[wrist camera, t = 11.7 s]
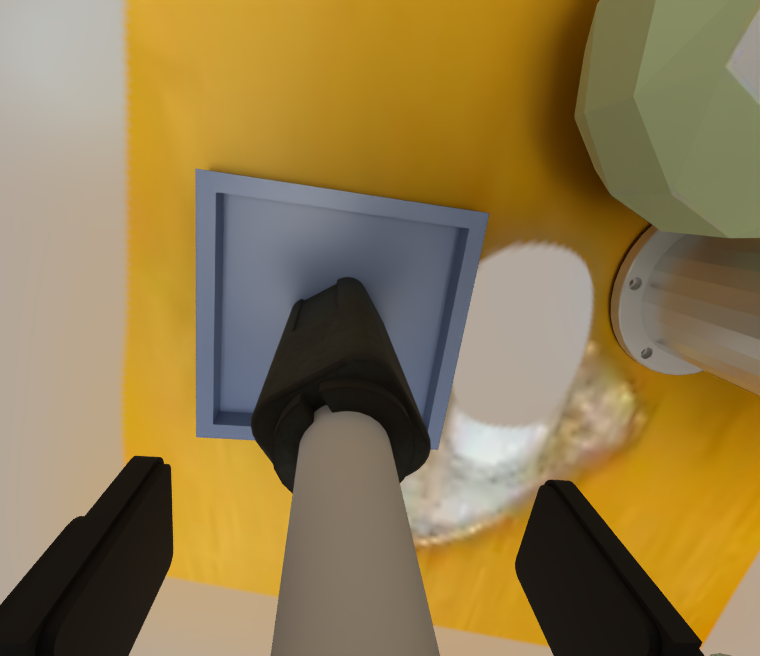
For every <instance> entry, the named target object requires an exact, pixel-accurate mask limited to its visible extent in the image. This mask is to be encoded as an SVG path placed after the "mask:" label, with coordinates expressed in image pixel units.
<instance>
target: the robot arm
mask: <svg viewBox="0 0 760 656" xmlns="http://www.w3.org/2000/svg"><path fill="white" fill-rule="evenodd" d="M611 320H612V326H613V331H614V333H615V336H616V338H617V340H618V342H619V344H620V346H621V347H622V348H623V350H624V351H625V352H626V354H627V355H628V356H630V357H631V358H632V359H634V360H635V361H636V362H637V363H639V364H641V365H643V366H645V367H647V368H649V369H650V370H653V371H656V372H659V373H662V374H668V375H687V374H695V373H698V372H702V371H707V372H709V373H711V374H713V375H715V376H718V377H720V378H722V379H724V380H726V381H728V382H730V383H733V384H735V385H737V386H739V387H741V388H743V389H746V390H748V391H750V392H752V393H754V394H756V395H758V396H760V238H723V237H713V236H703V235H693V234H683V233H674V232H664V231H661V230H659V229H658V228H656V227H655V226H654V225H652V226H651V227H650V228H649V229H648V230H647V231H646V232H645V233H643V234H642V236H641V237H640V238H639V239H638V241H637V242H636V243H635V245H634V246H633V247H632V248H631V250H630V251H629V253H628V255H627V257H626V258H625V260H624V262H623V264H622V265H621V267H620V270H619V273H618V275H617V278H616V281H615V283H614V288H613V293H612V298H611ZM172 557H173V522H172V487H171V466H170V465H169V464H164V461H163V459H162V458H161V457H147V456H134V457H133V458H132V459H131V460H130V461H129V462H128V463H127V465H126V466H125V467H124V468H123V470H122V471H121V472H120V473H119V475H118V476H117V477H116V478H115V479H114V481H113V482H112V483H111V484H110V486H109V487H108V488H107V489H106V491H105V492H104V493H103V494H102V496H101V497H100V498H99V499H98V501H97V502H96V503H95V504H94V505H93V507H92V508H91V509H90V510H89V512H88V513H87V514H86V515H85V516H79V517H77V518H75V519H73V520H72V521H71V522H70V524H68V525H67V526H66V527H65V529H64V530H63V531H62V532H61V533H60V535H59V536H58V537H57V538H56V539H55V540H54V542H53V543H52V544H51V545H50V546H49V548H48V549H47V550H46V551H45V552H44V554H43V555H42V556H41V557H40V558H39V560H38V561H37V562H36V563H35V564H34V565H33V567H32V568H31V569H30V570H29V571H28V573H27V574H26V575H25V576H24V577H23V579H22V580H21V581H20V582H19V583H18V585H17V586H16V587H15V588H14V589H13V591H12V592H11V593H10V594H9V595H8V596H7V598H6V599H5V600H4V601H3V602H2V604H1V605H0V656H128V655H129V653H130V651H131V649H132V647H133V645H134V642H135V640H136V638H137V636H138V634H139V632H140V630H141V627H142V626H143V623H144V621H145V619H146V617H147V615H148V612H149V610H150V608H151V606H152V604H153V602H154V600H155V597H156V595H157V593H158V591H159V589H160V587H161V585H162V583H163V580H164V578H165V576H166V574H167V572H168V570H169V567H170V565H171V561H172ZM515 569H516V574H517V577H518V579H519V581H520V583H521V586H522V588H523V590H524V592H525V594H526V596H527V599H528V601H529V603H530V605H531V607H532V609H533V612H534V614H535V616H536V618H537V620H538V622H539V625H540V627H541V629H542V631H543V633H544V635H545V638H546V640H547V642H548V644H549V646H550V648H551V651H552V653H553V655H554V656H704V654H703V653H702V652H701V651H700V649H699V648H700V646H701V644H702V641H701V640H700V639H699V638H698V637H697V635H696V634H695V633H694V632H693V630H692V629H691V628H690V627H689V625H688V624H687V623H686V622H685V620H684V619H683V618H682V617H681V615H680V614H679V613H678V612H677V611H676V609H675V608H674V607H673V606H672V604H671V603H670V602H669V601H668V599H667V598H666V597H665V596H664V594H663V593H662V592H661V591H660V590H659V588H658V587H657V586H656V585H655V583H654V582H653V581H652V580H651V578H650V577H649V576H648V575H647V573H646V572H645V571H644V570H643V568H642V567H641V566H640V565H639V564H638V562H637V561H636V560H635V559H634V557H633V556H632V555H631V554H630V552H629V551H628V550H627V549H626V547H625V546H624V545H623V544H622V543H621V541H620V540H619V539H618V538H617V536H616V535H615V534H614V533H613V531H612V530H611V529H610V528H609V526H608V525H607V524H606V523H605V521H604V520H603V519H602V518H601V517H600V515H599V514H598V513H597V512H596V510H595V509H594V508H593V507H592V505H591V504H590V503H589V502H588V500H587V499H586V498H585V497H584V496H583V494H582V493H581V492H580V491H579V489H578V488H577V487H576V486H575V485H574V484H573V483H572V482H570V481H563V480H547V481H546V482H545V484H544V485H542V486H540V488H539V490H538V493H537V496H536V499H535V502H534V505H533V508H532V512H531V515H530V518H529V521H528V524H527V527H526V530H525V533H524V536H523V539H522V542H521V545H520V548H519V551H518V554H517V558H516V561H515ZM710 656H730V655H725V654H721V653H719V654H711V655H710Z"/></svg>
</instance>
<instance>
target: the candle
mask: <svg viewBox="0 0 760 656" xmlns="http://www.w3.org/2000/svg"><path fill="white" fill-rule="evenodd" d="M251 430H252V435H253V437H254V438H255V440H256V442H257V443H258V445H259V446H260V447H261V449H262V450H263V451H264V453H265V454H266V455H267V457H268V458H269V459H270V461H271V462H272V463H273V465H274V469H275V471H276V473H277V475H278V477H279V479H280V480H281V482H282V484H283V485H284V486H285V487H286V488H287V489H288V490H289V491H291V492H292V493H293V496H292V503H291V511H290V518H289V525H288V533H287V540H286V547H285V555H284V562H283V569H282V577H281V584H280V591H279V599H278V606H277V614H276V621H275V629H274V636H273V643H272V650H271V656H440V654H439V650H438V645H437V641H436V637H435V632H434V628H433V624H432V620H431V615H430V611H429V607H428V602H427V598H426V594H425V590H424V585H423V581H422V577H421V573H420V568H419V564H418V560H417V555H416V551H415V547H414V543H413V538H412V534H411V530H410V525H409V521H408V517H407V513H406V508H405V504H404V500H403V495H402V491H401V487H400V483H401V482H402V480H403V479H404V478H405V477H406V476H408V475H410V474H412V473H413V472H415V471H416V470H418V469H419V468H420V467H421V466H422V465H423V464H424V463H425V462H426V460H427V458H428V457H429V453H430V449H431V441H430V437H429V434H428V432H427V429H426V427H425V424H424V422H423V419H422V417H421V414H420V412H419V409H418V407H417V404H416V402H415V400H414V397H413V395H412V392H411V390H410V387H409V385H408V382H407V380H406V377H405V375H404V372H403V370H402V367H401V365H400V362H399V360H398V357H397V355H396V353H395V350H394V348H393V345H392V343H391V340H390V338H389V335H388V333H387V330H386V328H385V325H384V323H383V321H382V319H381V317H380V315H379V313H378V312H377V310H376V308H375V306H374V304H373V302H372V300H371V298H370V297H369V295H368V293H367V291H366V289H365V287H364V286H363V284H362V283H361V282H360V281H358V280H357V279H355V278H351V277H343V278H340V279H338V280H337V283H336V284H335V285H333V286H331V287H329V288H327V289H325V290H323V291H322V292H320V293H318V294H316V295H314V296H312V297H310V298H308V299H306V300H303V299H300V300H299V301H297V302H296V303H295V304H294V305H293V307H292V310H291V312H290V315H289V318H288V320H287V323H286V326H285V328H284V331H283V334H282V336H281V339H280V342H279V344H278V347H277V350H276V352H275V355H274V358H273V361H272V363H271V366H270V369H269V371H268V374H267V377H266V379H265V382H264V385H263V387H262V390H261V393H260V395H259V398H258V401H257V404H256V406H255V409H254V412H253V414H252V417H251Z"/></svg>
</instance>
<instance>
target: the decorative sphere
mask: <svg viewBox="0 0 760 656" xmlns="http://www.w3.org/2000/svg"><path fill="white" fill-rule="evenodd" d="M574 118H575V121H576V123H577V126H578V128H579V131H580V134H581V136H582V139H583V141H584V144H585V146H586V149H587V151H588V154H589V156H590V159H591V161H592V164H593V166H594V169H595V171H596V172H597V174H598V175H599V177H600V179H601V180H602V182H603V183H604V185H605V187H606V188H607V190H608V191H609V193H610V195H611V196H613V197H614V198H616V199H617V200H618V201H620V202H621V203H623V204H624V205H625V206H627V207H628V208H630V209H631V210H632V211H634V212H635V213H637V214H638V215H639V216H641V217H642V218H644V219H645V220H647V221H648V222H649V223H651V224H652V225H654V226H655V227H656V228H658V229H659V230H661V231H664V232H674V233H683V234H693V235H703V236H713V237H723V238H760V0H599V2H598V4H597V6H596V10H595V14H594V17H593V21H592V25H591V28H590V32H589V36H588V40H587V43H586V47H585V51H584V57H583V64H582V70H581V76H580V83H579V89H578V95H577V101H576V108H575V114H574Z"/></svg>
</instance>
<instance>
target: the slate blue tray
mask: <svg viewBox="0 0 760 656" xmlns="http://www.w3.org/2000/svg"><path fill="white" fill-rule="evenodd" d="M488 218H489V213H484V212H478V211H471V210H464V209H458V208H451V207H445V206H438V205H431V204H425V203H418V202H412V201H405V200H399V199H392V198H385V197H379V196H372V195H366V194H359V193H353V192H346V191H339V190H333V189H326V188H320V187H313V186H307V185H300V184H293V183H287V182H280V181H274V180H267V179H261V178H254V177H247V176H241V175H234V174H228V173H221V172H215V171H208V170H201V169H196V437H203V438H222V439H242V440H255V438H254V437H253V435H252V430H251V417H252V414H253V412H254V409H255V406H256V404H257V401H258V398H259V395H260V393H261V390H262V387H263V385H264V382H265V379H266V377H267V374H268V371H269V369H270V366H271V363H272V361H273V358H274V355H275V352H276V350H277V347H278V344H279V342H280V339H281V336H282V334H283V331H284V328H285V326H286V323H287V320H288V318H289V315H290V312H291V310H292V307H293V305H294V304H295V303H296V302H297V301H299V300H300V299H303V300H306V299H308V298H310V297H312V296H314V295H316V294H318V293H320V292H322V291H323V290H325V289H327V288H329V287H331V286H333V285H335V284H336V283H337V280H338V279H340V278H343V277H351V278H355V279H357V280H358V281H360V282H361V283H362V284H363V286H364V287H365V289H366V291H367V293H368V295H369V297H370V298H371V300H372V302H373V304H374V306H375V308H376V310H377V312H378V313H379V315H380V317H381V319H382V321H383V323H384V325H385V328H386V330H387V333H388V335H389V338H390V340H391V343H392V345H393V348H394V350H395V353H396V355H397V357H398V360H399V362H400V365H401V367H402V370H403V372H404V375H405V377H406V380H407V382H408V385H409V387H410V390H411V392H412V395H413V397H414V400H415V402H416V404H417V407H418V409H419V412H420V414H421V417H422V419H423V422H424V424H425V427H426V429H427V432H428V434H429V437H430V441H431V449H435V450H438V447H439V443H440V438H441V433H442V429H443V424H444V420H445V415H446V411H447V406H448V401H449V397H450V392H451V388H452V383H453V378H454V374H455V369H456V365H457V360H458V356H459V350H460V346H461V342H462V337H463V332H464V328H465V323H466V319H467V314H468V310H469V305H470V300H471V296H472V291H473V287H474V282H475V278H476V273H477V268H478V264H479V259H480V255H481V250H482V246H483V241H484V236H485V232H486V227H487V223H488Z"/></svg>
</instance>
